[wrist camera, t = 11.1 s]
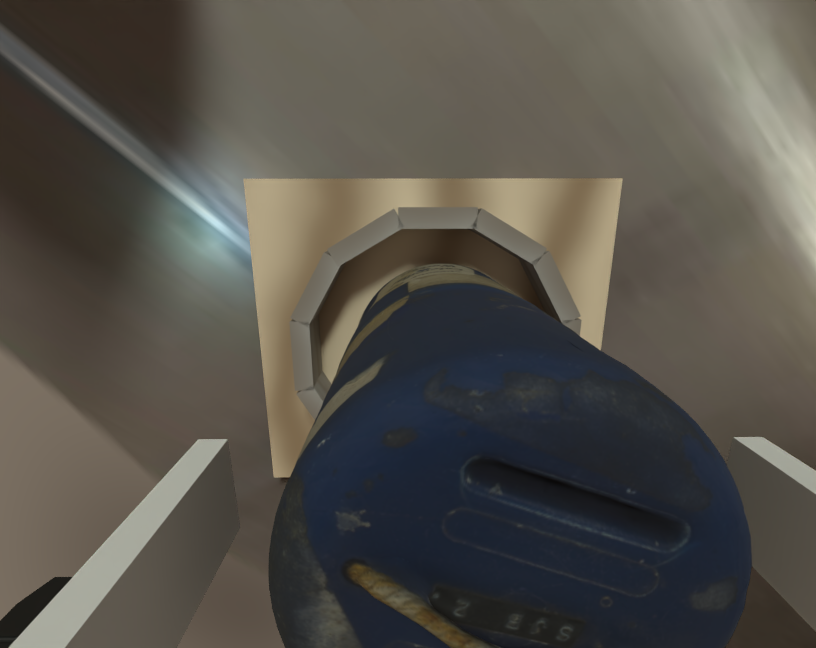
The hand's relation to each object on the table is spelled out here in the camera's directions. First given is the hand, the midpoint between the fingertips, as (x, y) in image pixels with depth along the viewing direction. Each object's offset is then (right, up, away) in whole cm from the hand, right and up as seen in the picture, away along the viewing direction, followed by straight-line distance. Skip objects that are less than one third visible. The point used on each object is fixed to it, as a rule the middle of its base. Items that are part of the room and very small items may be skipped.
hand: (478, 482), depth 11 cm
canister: (0, +3, +13) cm, 13 cm away
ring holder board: (0, +4, +14) cm, 15 cm away
